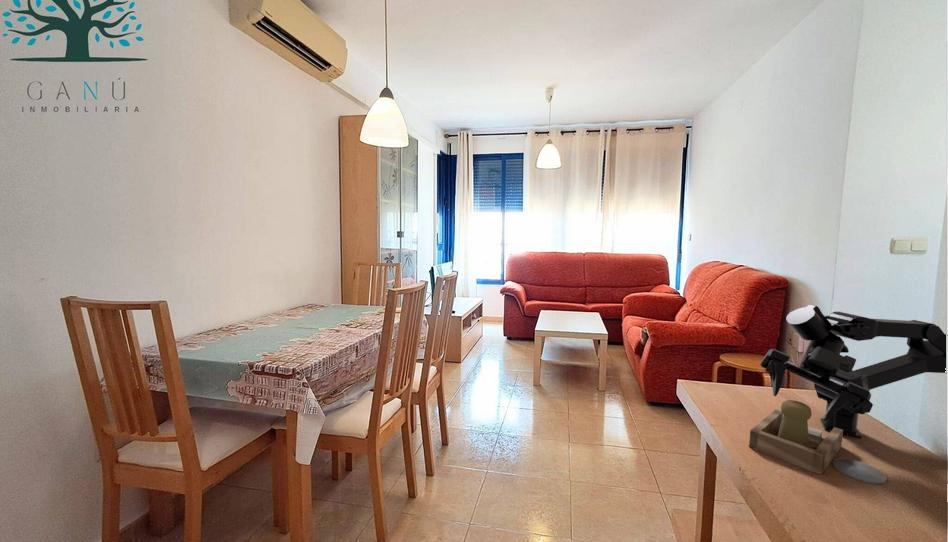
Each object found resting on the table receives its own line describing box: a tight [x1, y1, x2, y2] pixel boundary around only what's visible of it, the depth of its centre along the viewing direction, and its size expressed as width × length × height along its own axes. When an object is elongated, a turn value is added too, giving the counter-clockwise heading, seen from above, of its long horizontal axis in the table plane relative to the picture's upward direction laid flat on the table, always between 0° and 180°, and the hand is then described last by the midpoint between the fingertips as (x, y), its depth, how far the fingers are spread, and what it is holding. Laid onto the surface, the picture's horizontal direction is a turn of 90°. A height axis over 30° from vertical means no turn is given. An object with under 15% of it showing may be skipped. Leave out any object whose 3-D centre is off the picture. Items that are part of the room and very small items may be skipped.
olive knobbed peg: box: [777, 399, 813, 448], centre depth 85 cm, size 6×6×11 cm
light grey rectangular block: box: [808, 426, 826, 449], centre depth 90 cm, size 4×7×3 cm, turn 38°
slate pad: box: [832, 457, 887, 485], centre depth 78 cm, size 8×8×1 cm
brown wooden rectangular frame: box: [748, 409, 844, 475], centre depth 87 cm, size 17×12×4 cm
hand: (799, 407), depth 86 cm, fingers open, 9 cm apart
